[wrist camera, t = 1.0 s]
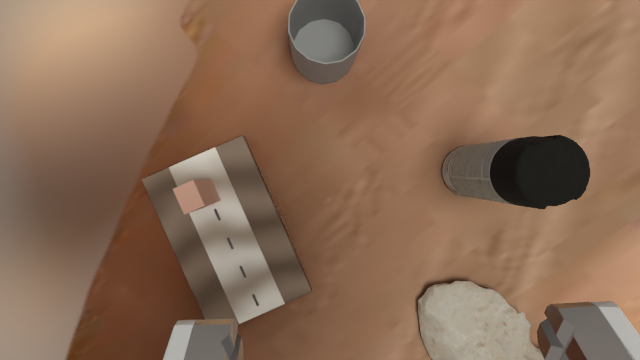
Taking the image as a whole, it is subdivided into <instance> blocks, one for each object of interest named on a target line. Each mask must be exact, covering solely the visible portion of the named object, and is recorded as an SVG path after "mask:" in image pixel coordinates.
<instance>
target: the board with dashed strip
mask: <svg viewBox="0 0 640 360" xmlns="http://www.w3.org/2000/svg"><path fill="white" fill-rule="evenodd" d="M200 179H212V182H213V184H214V186H215V188H216V191H217V193H218V195H219V197H220V200H221V201H218V202H216V203H214V204H211V205H209V206H207V207H205V208H202V209H199V210H196V211H193V212H190V213H187V214H184V213H183V211H182V209H181V207H180V204H179V202H178V200H177V198H176V196H175V193H174V191H173V189H174V188H176V187H178V186H181V185H183V184H185V183H187V182H190V181H192V180H200ZM142 181H143V184H144V186H145V188H146V190H147V192H148V195H149V197H150V199H151V201H152V203H153V206H154V208H155V210H156V212H157V214H158V217H159V219H160V221H161V223H162V226H163V228H164V230H165V232H166V234H167V237H168V239H169V241H170V243H171V245H172V248H173V250H174V252H175V254H176V256H177V259H178V261H179V263H180V265H181V268H182V270H183V272H184V274H185V276H186V279H187V281H188V283H189V285H190V287H191V290H192V292H193V294H194V296H195V298H196V301H197V303H198V305H199V307H200V310H201V312H202V314H203V316H204V318H205V320H207V319H236V322H237V324H241V323H243V322H245V321H247V320H250V319H252V318H254V317H256V316H259V315H261V314H263V313H265V312H268V311H270V310H272V309H274V308H277V307H279V306H281V305H283V304H285V303H287V302H289V301H291V300H294V299H296V298H298V297H300V296H303V295H305V294H307V293H309V292H312V288H311V285H310V283H309V281H308V279H307V276H306V274H305V272H304V270H303V267H302V265H301V263H300V261H299V258H298V256H297V254H296V252H295V249H294V247H293V245H292V243H291V240H290V238H289V236H288V234H287V231H286V229H285V227H284V225H283V222H282V220H281V218H280V215H279V213H278V211H277V209H276V206H275V204H274V202H273V200H272V197H271V195H270V193H269V191H268V188H267V186H266V184H265V182H264V179H263V177H262V175H261V173H260V170H259V168H258V166H257V164H256V161H255V159H254V157H253V155H252V152H251V150H250V148H249V145H248V143H247V141H246V139H245V136H243V135H242V136H240V137H238V138H235V139H233V140H231V141H229V142H226V143H224V144H222V145H219V146H217V147H214V148H212V149H210V150H207V151H205V152H203V153H200V154H198V155H196V156H194V157H191V158H189V159H187V160H184V161H182V162H180V163H178V164H175V165H173V166H171V167H169V168H167V169H164V170H162V171H160V172H157V173H155V174H153V175H151V176H148V177H146V178H144V179H142Z"/></svg>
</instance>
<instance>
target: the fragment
mask: <svg viewBox="0 0 640 360" xmlns="http://www.w3.org/2000/svg"><path fill="white" fill-rule="evenodd" d="M418 316H419V324H420V332H421V337H422V339H423V343H424V346H425V347H426V349H427V351H428V354H429V357H430V358H431V359H432V360H544V357H543V355H542V353H541V351H540V349H538V348H536V347H535V346H534V345H533V344H532V342H531V340H530V327H531V323H530V322H529V321H528V320H526V319H525V314H524V312H516V310H515V309H514V308H512V307H510V306H509V304H508V303H507V302H506V301H505V300H504V298H503V297H502V296H501V295H500V294H498V293H497V292H496V291H494V290H492V289H490V288H489V289H485V288H482V287H479V286H478V285H476V284H475V283H473V282H472V281H454V282H453V283H451V284H446V283H442V284H436V285H432V286H431V287H429V288H428V289H427V291H426V292H425V293H424V295H423V296H422V297H421V298H420V299H419V300H418Z"/></svg>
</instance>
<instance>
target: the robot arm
mask: <svg viewBox="0 0 640 360" xmlns="http://www.w3.org/2000/svg"><path fill="white" fill-rule="evenodd" d="M544 313H545V315H546V317H547V319H546V320H544V321H543V322H541V323H540V325H539V328H538V330H537V338H538V344H539V348H540V351H541V353H542V355H543V357H544V360H640V335H639V334H638V332H637V331H636V330H635V328H634V327H633V326H632V324H631V323H630V322H629V320H628V319H627V317H626V316H625V315H624V313H623V312H622V311H621V309H620V308H619V307H618V305H616V304H615V303H614V302H609V301H606V302H591V303H590V302H579V303H563V304H551V305H549V306H547V308H546V310H545V312H544ZM237 330H238V324H237V322H236V319H207V320H178V321H177V323H176V324H175V326H174V327H173V330H172V333H171V336H170V339H169V342H168V345H167V348H166V351H165V354H164V357H163V360H243V353H244V348H243V341H242V337H241V336H240V335H239V334H237Z"/></svg>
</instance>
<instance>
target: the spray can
mask: <svg viewBox="0 0 640 360" xmlns="http://www.w3.org/2000/svg"><path fill="white" fill-rule="evenodd" d="M442 175H443V179H444V181H445V183H446V185H447V186H448V187H449V188H450V189H451V190H452V191H453V192H455V193H457V194H459V195H462V196H468V197H473V198H478V199H484V200H490V201H496V202H501V203H507V204H513V205H519V206H525V207H532V208H538V209H545V208H546V207H547V206H558V205H561V204H565V203H567V202H568V201H570V200H573V199H575V200H577V199H578V198H580V197H581V196H582V194H583V193H584V191H585V190H586V187H587V184H588V181H589V178H590V168H589V161H588V159H587V156H586V154H585V152H584V151H583V149H582V148H581V147H580V146H579V145H578V144H577V143H576V142H574V141H573V140H571V139H569V138H567V137H565V136H561V135H555V136H546V137H536V136H532V137H525V138H516V139H510V140H502V141H496V142H489V143H483V144H476V145H470V146H463V147H459V148H457V149H455V150H454V151H452V152H451V153H450V154H449V155H448V156H447V157H446V159H445V161H444V163H443V167H442Z"/></svg>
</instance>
